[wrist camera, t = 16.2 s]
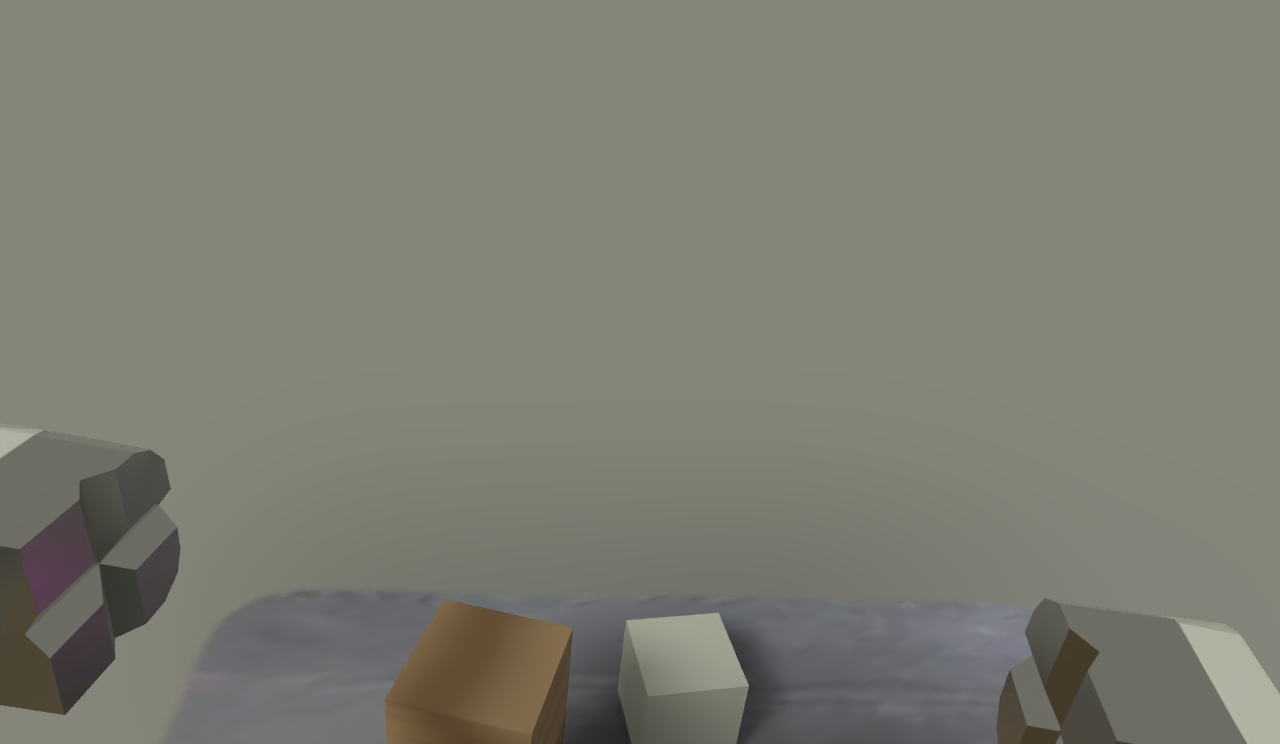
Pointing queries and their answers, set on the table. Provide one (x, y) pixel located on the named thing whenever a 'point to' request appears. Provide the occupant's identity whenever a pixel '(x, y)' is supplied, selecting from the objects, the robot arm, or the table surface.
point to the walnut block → (482, 681)
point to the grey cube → (681, 681)
